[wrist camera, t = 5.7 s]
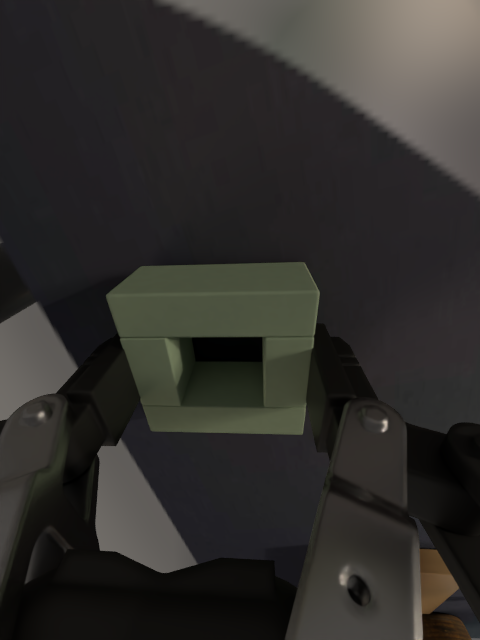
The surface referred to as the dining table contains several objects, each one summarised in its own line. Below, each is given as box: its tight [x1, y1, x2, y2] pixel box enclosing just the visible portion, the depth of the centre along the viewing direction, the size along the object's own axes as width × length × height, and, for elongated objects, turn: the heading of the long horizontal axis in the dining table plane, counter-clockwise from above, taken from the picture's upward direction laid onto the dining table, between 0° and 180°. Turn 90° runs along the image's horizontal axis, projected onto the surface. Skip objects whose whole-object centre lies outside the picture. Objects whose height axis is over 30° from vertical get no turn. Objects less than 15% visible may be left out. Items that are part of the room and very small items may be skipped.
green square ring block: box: [106, 262, 320, 435], centre depth 10 cm, size 6×6×3 cm
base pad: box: [419, 549, 459, 614], centre depth 20 cm, size 10×10×6 cm
